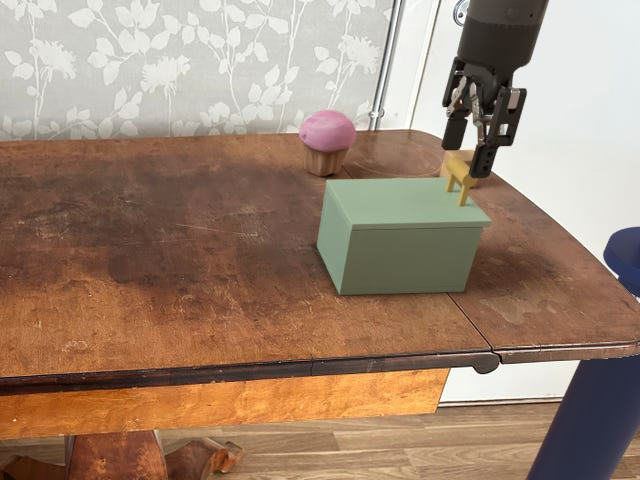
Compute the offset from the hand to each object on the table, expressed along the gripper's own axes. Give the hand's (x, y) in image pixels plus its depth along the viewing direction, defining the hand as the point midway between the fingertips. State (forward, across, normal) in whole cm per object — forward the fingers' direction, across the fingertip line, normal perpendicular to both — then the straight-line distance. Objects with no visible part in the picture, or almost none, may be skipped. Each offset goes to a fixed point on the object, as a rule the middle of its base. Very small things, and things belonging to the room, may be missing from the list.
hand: (463, 162), depth 83 cm
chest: (+14, 0, +6) cm, 16 cm away
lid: (+5, 0, +6) cm, 8 cm away
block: (+14, +26, -13) cm, 33 cm away
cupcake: (+14, +31, +8) cm, 35 cm away
